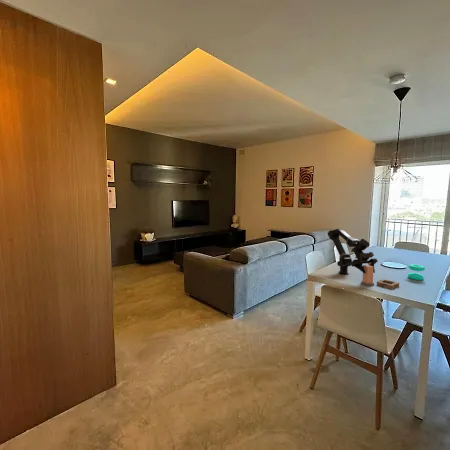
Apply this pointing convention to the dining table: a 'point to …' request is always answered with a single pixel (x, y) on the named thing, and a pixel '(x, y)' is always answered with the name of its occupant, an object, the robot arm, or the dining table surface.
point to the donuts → (416, 275)
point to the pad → (367, 284)
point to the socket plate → (388, 283)
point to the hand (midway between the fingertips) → (369, 272)
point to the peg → (368, 274)
